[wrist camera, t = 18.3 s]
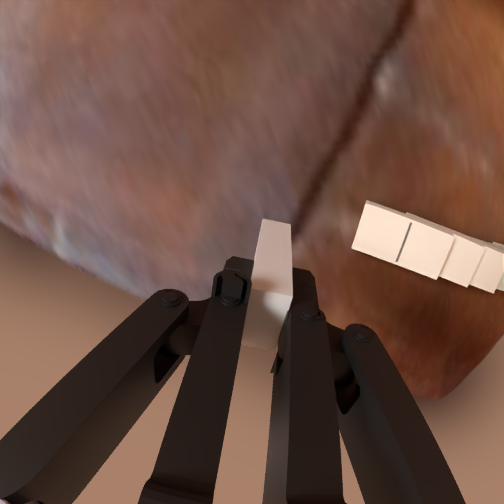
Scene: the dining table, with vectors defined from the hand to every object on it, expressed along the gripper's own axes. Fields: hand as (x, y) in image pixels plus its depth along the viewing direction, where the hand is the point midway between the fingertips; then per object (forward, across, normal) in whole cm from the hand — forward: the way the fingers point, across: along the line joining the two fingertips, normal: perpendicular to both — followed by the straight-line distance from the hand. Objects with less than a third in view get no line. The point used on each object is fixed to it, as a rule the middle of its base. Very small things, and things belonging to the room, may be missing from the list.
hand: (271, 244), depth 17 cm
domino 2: (+14, +14, -2) cm, 20 cm away
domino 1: (+14, +9, -2) cm, 17 cm away
